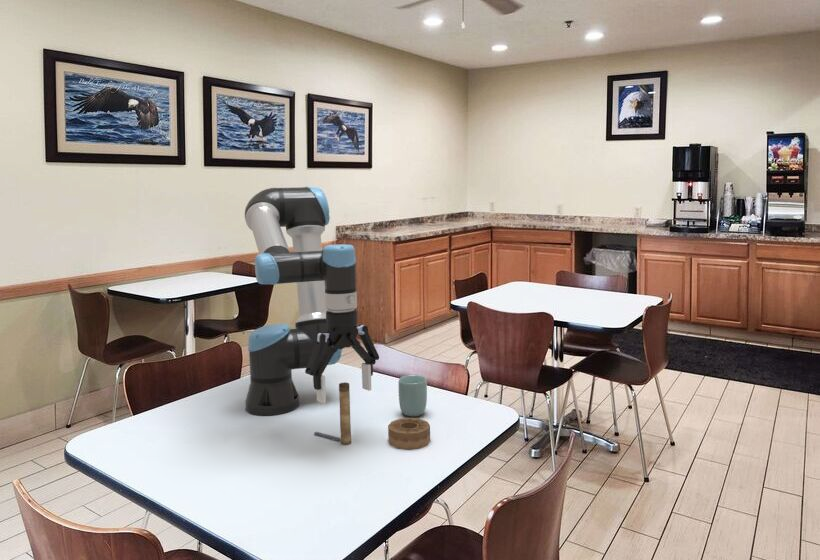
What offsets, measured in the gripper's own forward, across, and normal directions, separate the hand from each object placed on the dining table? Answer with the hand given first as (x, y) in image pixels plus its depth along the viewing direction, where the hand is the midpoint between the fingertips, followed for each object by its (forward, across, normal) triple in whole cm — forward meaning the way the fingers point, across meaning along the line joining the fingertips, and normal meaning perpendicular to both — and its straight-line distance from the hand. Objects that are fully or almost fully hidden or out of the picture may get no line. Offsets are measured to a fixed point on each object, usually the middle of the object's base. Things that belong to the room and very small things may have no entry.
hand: (344, 395), depth 152 cm
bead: (+12, +12, -10) cm, 20 cm away
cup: (+12, +25, +4) cm, 28 cm away
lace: (+12, -1, +6) cm, 14 cm away
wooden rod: (+12, 0, 0) cm, 12 cm away
